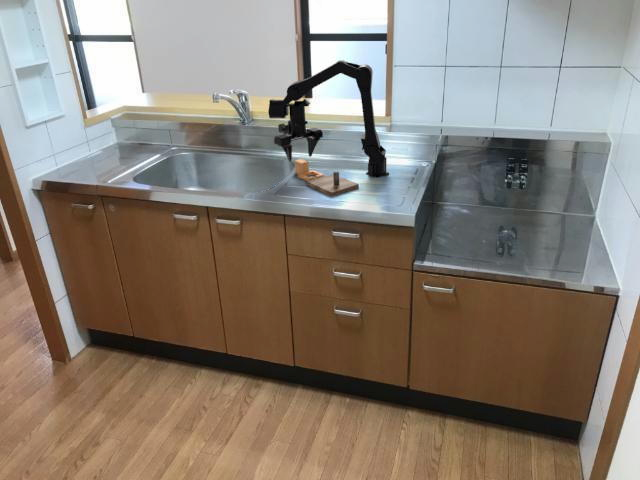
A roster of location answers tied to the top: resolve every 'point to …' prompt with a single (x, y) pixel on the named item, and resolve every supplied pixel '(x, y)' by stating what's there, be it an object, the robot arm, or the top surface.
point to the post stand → (332, 184)
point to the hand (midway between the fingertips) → (300, 158)
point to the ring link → (305, 170)
